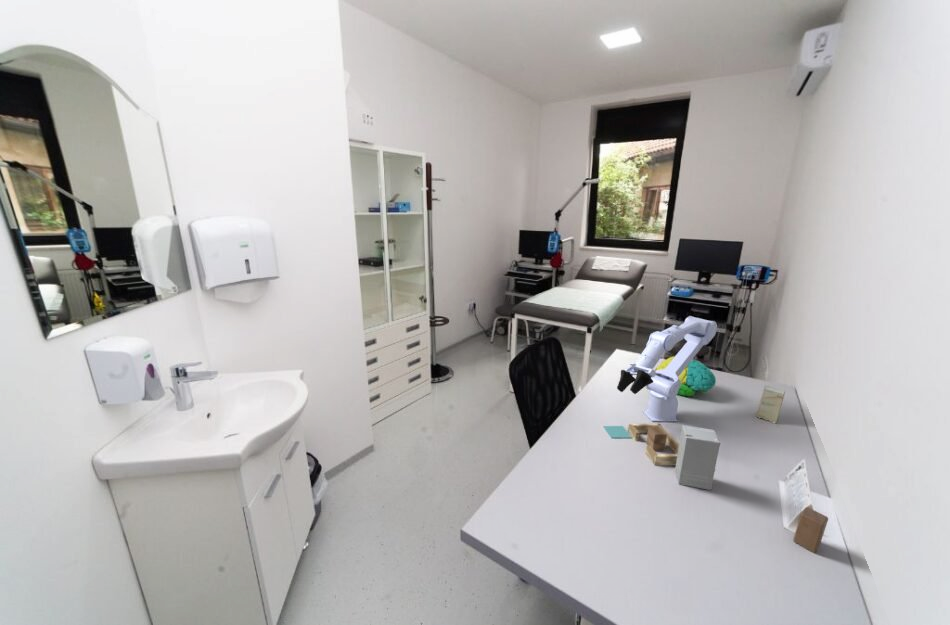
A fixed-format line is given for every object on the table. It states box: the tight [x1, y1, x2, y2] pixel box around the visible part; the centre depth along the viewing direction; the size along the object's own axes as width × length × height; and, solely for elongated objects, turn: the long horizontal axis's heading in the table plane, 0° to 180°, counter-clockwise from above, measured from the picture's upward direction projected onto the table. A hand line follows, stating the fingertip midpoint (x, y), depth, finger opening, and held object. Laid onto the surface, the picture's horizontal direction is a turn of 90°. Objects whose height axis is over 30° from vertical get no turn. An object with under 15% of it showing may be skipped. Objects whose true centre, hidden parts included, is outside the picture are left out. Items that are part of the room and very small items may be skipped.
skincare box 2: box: [756, 385, 786, 424], centre depth 137 cm, size 6×4×12 cm
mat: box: [603, 425, 633, 439], centre depth 127 cm, size 7×7×1 cm
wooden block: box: [793, 506, 829, 554], centre depth 84 cm, size 4×4×8 cm
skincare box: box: [674, 424, 721, 491], centre depth 102 cm, size 8×7×16 cm
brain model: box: [654, 356, 717, 397], centre depth 159 cm, size 24×19×15 cm
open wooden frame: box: [627, 423, 679, 466], centre depth 119 cm, size 11×18×3 cm, turn 3°
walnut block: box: [645, 427, 667, 452], centre depth 119 cm, size 4×4×6 cm
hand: (625, 391), depth 123 cm, fingers open, 7 cm apart
